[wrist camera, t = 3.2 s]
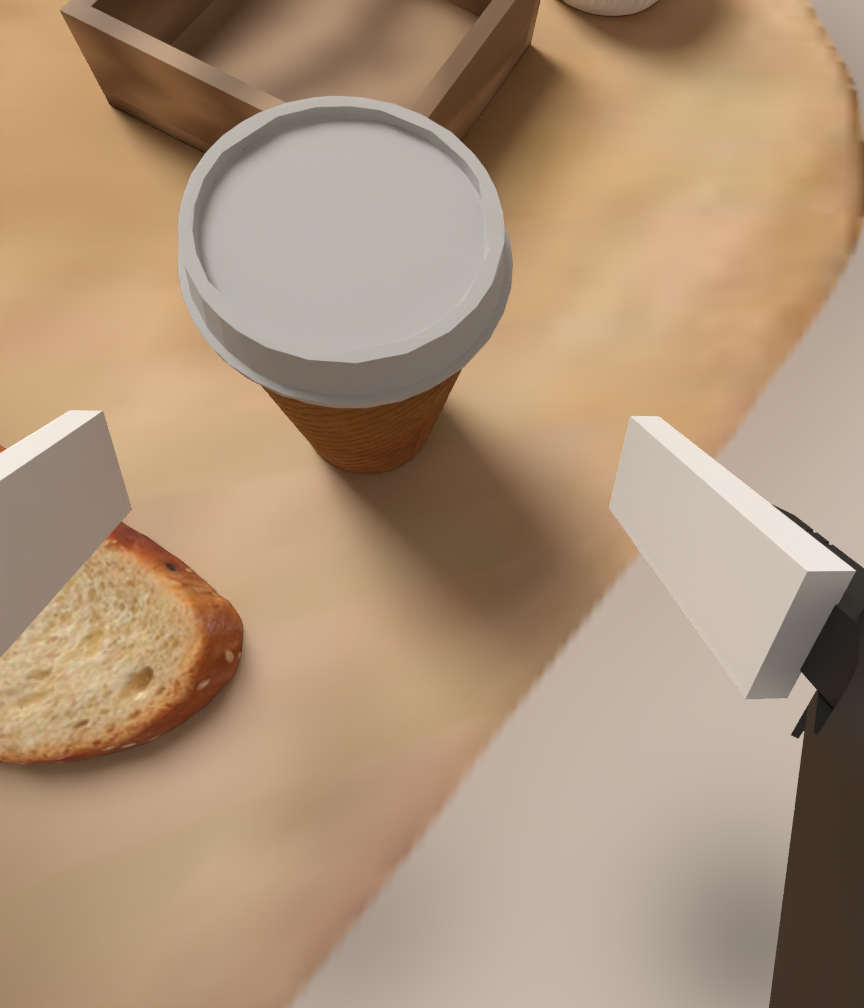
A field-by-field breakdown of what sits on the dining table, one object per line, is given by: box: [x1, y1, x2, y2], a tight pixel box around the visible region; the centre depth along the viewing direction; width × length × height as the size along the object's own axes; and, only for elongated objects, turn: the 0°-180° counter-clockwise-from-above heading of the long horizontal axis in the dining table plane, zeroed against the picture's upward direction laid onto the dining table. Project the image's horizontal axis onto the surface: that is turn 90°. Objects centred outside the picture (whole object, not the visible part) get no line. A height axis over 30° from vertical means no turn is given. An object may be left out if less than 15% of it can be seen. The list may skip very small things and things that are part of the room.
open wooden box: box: [60, 0, 540, 153], centre depth 29 cm, size 18×18×4 cm
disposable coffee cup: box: [178, 96, 513, 474], centre depth 19 cm, size 10×10×12 cm
